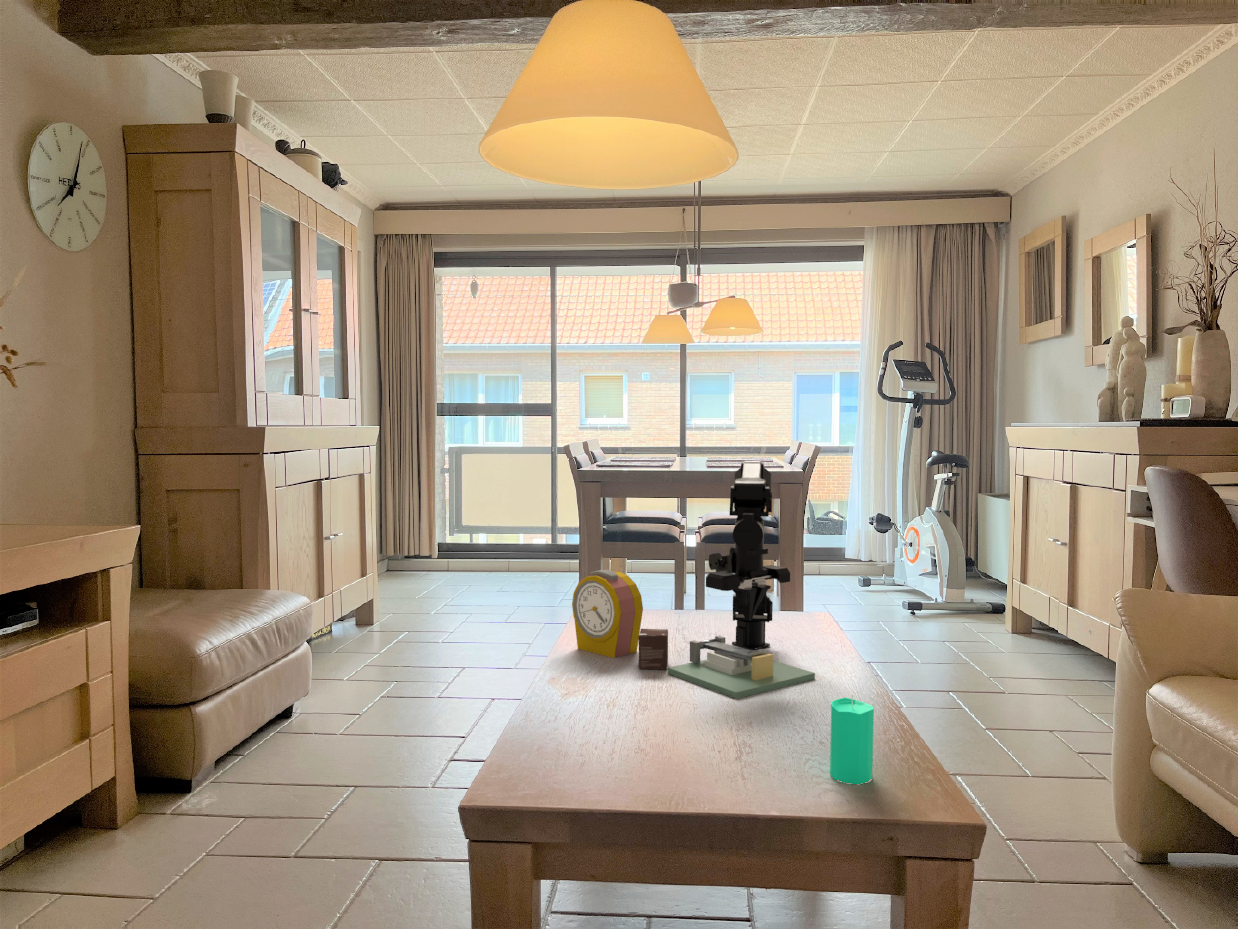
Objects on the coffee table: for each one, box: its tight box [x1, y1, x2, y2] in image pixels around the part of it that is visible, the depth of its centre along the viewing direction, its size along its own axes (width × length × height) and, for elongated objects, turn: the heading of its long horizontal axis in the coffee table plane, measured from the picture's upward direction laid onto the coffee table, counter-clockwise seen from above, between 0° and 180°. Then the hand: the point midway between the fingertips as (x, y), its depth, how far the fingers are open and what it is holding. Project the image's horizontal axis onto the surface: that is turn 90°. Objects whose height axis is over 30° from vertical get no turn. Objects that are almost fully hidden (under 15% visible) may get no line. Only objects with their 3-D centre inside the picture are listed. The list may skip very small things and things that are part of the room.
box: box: [638, 628, 669, 671], centre depth 178 cm, size 6×6×7 cm
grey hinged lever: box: [699, 638, 767, 661], centre depth 173 cm, size 5×16×2 cm, turn 36°
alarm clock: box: [571, 569, 644, 659], centre depth 190 cm, size 15×8×18 cm, turn 47°
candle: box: [829, 694, 875, 784], centre depth 121 cm, size 6×6×12 cm
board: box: [667, 635, 816, 700], centre depth 171 cm, size 22×21×6 cm
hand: (748, 620), depth 169 cm, fingers closed
